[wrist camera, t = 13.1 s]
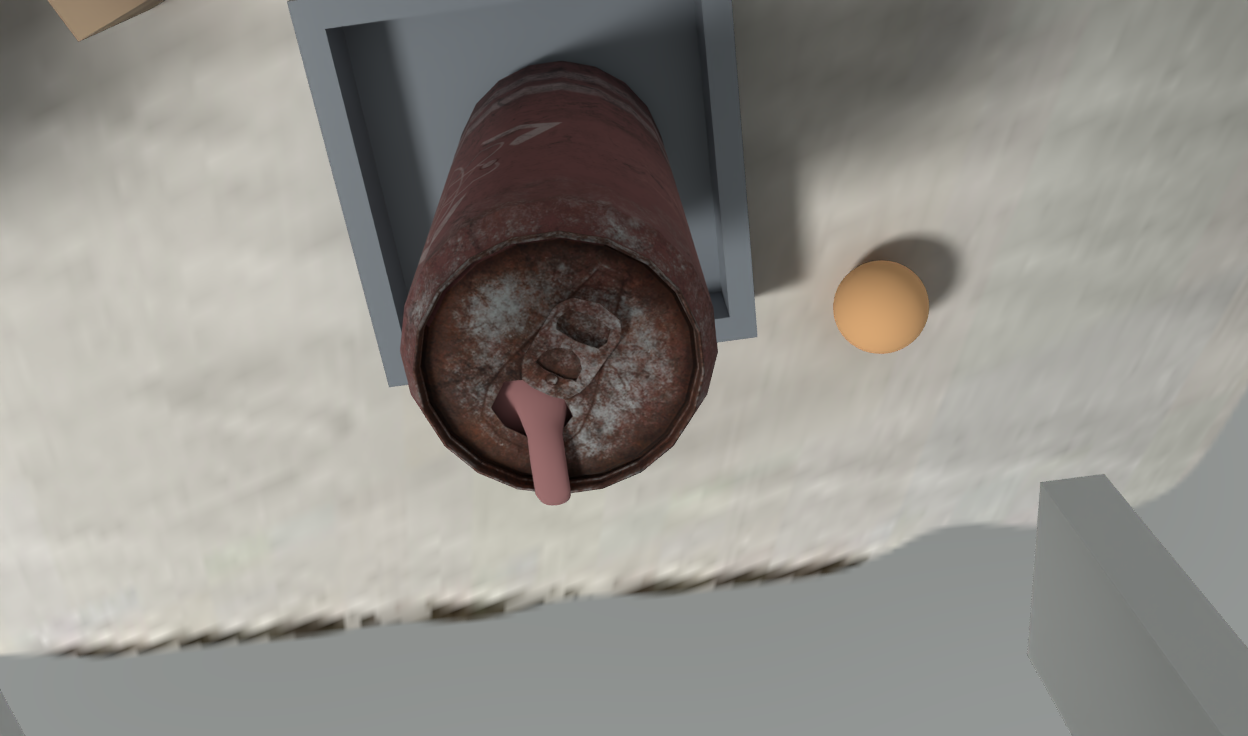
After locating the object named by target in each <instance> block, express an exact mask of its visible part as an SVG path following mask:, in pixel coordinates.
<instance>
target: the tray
mask: <svg viewBox="0 0 1248 736" xmlns="http://www.w3.org/2000/svg"><path fill="white" fill-rule="evenodd" d="M287 4H288V8H289V11H290V15H291V19H292V23H293V26H294V30H295V34H296V38H297V41H298V45H299V49H300V53H301V57H302V60H303V64H304V68H305V72H306V75H307V79H308V83H309V87H310V90H311V94H312V98H313V102H314V106H315V109H316V113H317V117H318V121H319V124H320V128H321V132H322V136H323V140H324V143H325V147H326V151H327V155H328V158H329V162H330V166H331V170H332V173H333V177H334V181H335V185H336V189H337V192H338V196H339V200H340V204H341V207H342V211H343V215H344V219H345V222H346V226H347V230H348V234H349V238H350V241H351V245H352V249H353V253H354V256H355V260H356V264H357V268H358V271H359V275H360V279H361V283H362V287H363V290H364V294H365V298H366V302H367V305H368V309H369V313H370V317H371V321H372V324H373V328H374V332H375V336H376V339H377V343H378V347H379V351H380V354H381V358H382V362H383V366H384V370H385V373H386V377H387V381H388V385H389V387H394V386H401V385H408V381H407V377H406V373H405V369H404V365H403V361H402V358H401V354H400V345H401V335H402V325H403V315H404V306H405V303H406V300H407V297H408V294H409V291H410V288H411V285H412V282H413V279H414V276H415V273H416V270H417V267H418V264H419V261H420V258H421V255H422V252H423V249H424V246H425V243H426V240H427V237H428V234H429V231H430V228H431V225H432V222H433V219H434V216H435V213H436V210H437V207H438V204H439V201H440V198H441V195H442V192H443V189H444V186H445V183H446V180H447V177H448V174H449V171H450V168H451V165H452V162H453V159H454V156H455V153H456V150H457V147H458V144H459V141H460V138H461V135H462V132H463V130H464V128H465V126H466V124H467V122H468V120H469V118H470V116H471V113H472V111H473V109H474V107H475V105H476V103H477V102H478V101H479V100H480V99H481V98H482V97H483V96H484V95H485V94H486V93H487V92H488V91H489V90H490V89H491V88H492V87H493V86H494V85H495V84H496V83H497V82H498V81H499V80H501V79H503V78H505V77H507V76H509V75H511V74H513V73H515V72H517V71H519V70H521V69H523V68H525V67H527V66H529V65H535V64H542V63H549V62H556V61H567V62H573V63H578V64H584V65H589V66H595V67H597V68H599V69H601V70H603V71H605V72H606V73H608V74H610V75H612V76H614V77H616V78H617V79H619V80H621V81H623V82H625V83H626V84H627V85H628V86H629V87H630V89H631V90H632V91H633V92H634V93H635V94H636V95H637V96H638V97H639V98H640V99H641V100H642V101H643V102H644V103H645V104H646V105H647V107H648V109H649V111H650V113H651V115H652V117H653V119H654V122H655V124H656V126H657V128H658V130H659V132H660V135H661V137H662V140H663V144H664V147H665V150H666V154H667V157H668V160H669V163H670V167H671V170H672V173H673V177H674V180H675V183H676V186H677V190H678V193H679V196H680V200H681V203H682V206H683V209H684V213H685V216H686V219H687V223H688V226H689V229H690V232H691V236H692V239H693V242H694V246H695V249H696V252H697V255H698V259H699V262H700V265H701V269H702V272H703V275H704V278H705V282H706V285H707V288H708V292H709V295H710V298H711V301H712V305H713V309H714V319H715V329H716V339H717V342H724V341H731V340H739V339H746V338H753V337H757V325H756V312H755V299H754V285H753V272H752V259H751V246H750V233H749V220H748V207H747V194H746V181H745V168H744V155H743V141H742V128H741V115H740V102H739V89H738V76H737V63H736V50H735V37H734V24H733V11H732V0H289V1H288V2H287Z"/></svg>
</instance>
